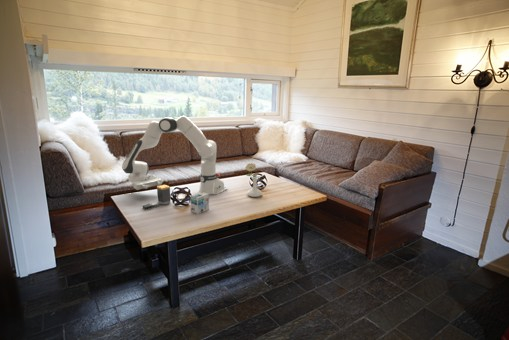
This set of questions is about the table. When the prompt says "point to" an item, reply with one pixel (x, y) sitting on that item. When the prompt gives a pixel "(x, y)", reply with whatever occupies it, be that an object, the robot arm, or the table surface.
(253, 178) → the flower in vase
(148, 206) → the ratchet
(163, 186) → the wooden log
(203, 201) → the light bulb box
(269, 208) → the table surface
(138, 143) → the robot arm
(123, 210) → the table surface
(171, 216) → the table surface
